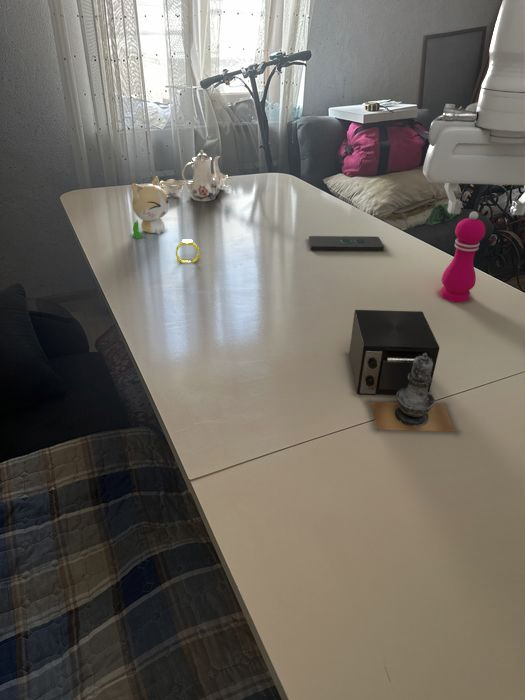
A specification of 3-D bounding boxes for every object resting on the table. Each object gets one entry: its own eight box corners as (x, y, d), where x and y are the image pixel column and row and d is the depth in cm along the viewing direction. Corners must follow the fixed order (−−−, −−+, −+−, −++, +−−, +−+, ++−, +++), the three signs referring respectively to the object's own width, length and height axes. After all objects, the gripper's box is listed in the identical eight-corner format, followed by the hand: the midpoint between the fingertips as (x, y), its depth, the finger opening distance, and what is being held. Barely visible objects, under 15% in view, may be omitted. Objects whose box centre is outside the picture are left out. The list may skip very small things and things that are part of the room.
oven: (412, 358, 96) (422, 311, 91) (430, 404, 85) (442, 353, 79) (348, 356, 97) (354, 309, 91) (357, 401, 85) (365, 351, 80)
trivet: (443, 406, 84) (443, 404, 84) (454, 433, 79) (455, 431, 79) (370, 404, 85) (370, 401, 84) (376, 431, 79) (376, 428, 79)
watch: (176, 265, 131) (174, 243, 128) (176, 261, 133) (174, 239, 130) (200, 264, 132) (198, 242, 129) (199, 260, 134) (198, 238, 131)
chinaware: (219, 189, 196) (214, 142, 188) (246, 194, 184) (242, 145, 176) (154, 202, 180) (147, 152, 173) (179, 209, 169) (172, 156, 161)
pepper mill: (437, 301, 116) (456, 214, 105) (438, 288, 122) (457, 204, 111) (470, 306, 114) (493, 219, 103) (470, 293, 120) (492, 208, 109)
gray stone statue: (385, 410, 83) (396, 347, 76) (413, 400, 85) (426, 338, 78) (409, 432, 78) (424, 368, 72) (438, 421, 80) (455, 357, 74)
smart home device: (384, 246, 139) (311, 246, 139) (383, 252, 140) (310, 252, 140) (378, 235, 146) (308, 235, 146) (377, 241, 147) (308, 241, 147)
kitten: (148, 243, 144) (141, 189, 136) (122, 236, 148) (114, 183, 140) (182, 228, 155) (178, 177, 147) (156, 221, 159) (151, 172, 151)
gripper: (439, 115, 67) (420, 218, 75) (597, 118, 67) (562, 221, 74) (427, 108, 72) (411, 205, 80) (574, 111, 72) (543, 208, 80)
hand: (484, 213), depth 77 cm, fingers open, 8 cm apart
